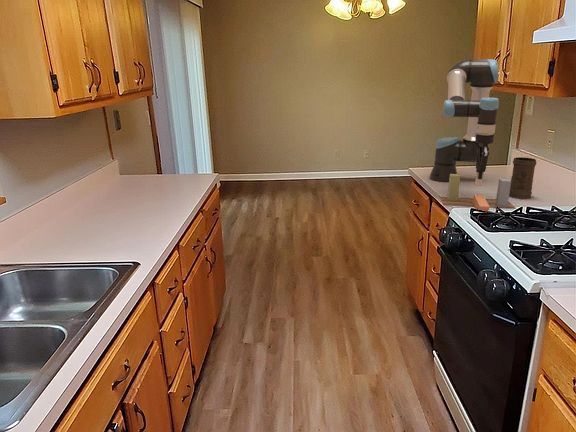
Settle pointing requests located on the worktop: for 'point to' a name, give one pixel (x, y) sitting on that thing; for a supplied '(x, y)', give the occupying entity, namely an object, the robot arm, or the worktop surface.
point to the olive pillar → (453, 187)
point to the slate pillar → (503, 192)
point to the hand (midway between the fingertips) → (478, 185)
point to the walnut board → (471, 203)
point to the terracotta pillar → (480, 203)
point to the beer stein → (522, 178)
